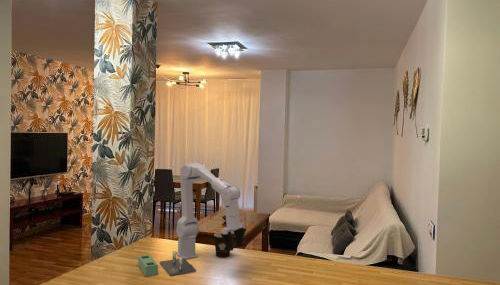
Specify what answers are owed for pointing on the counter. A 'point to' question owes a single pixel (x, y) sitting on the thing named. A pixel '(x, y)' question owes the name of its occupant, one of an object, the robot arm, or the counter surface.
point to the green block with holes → (148, 265)
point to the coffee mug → (221, 246)
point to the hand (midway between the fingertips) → (235, 248)
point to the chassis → (177, 266)
